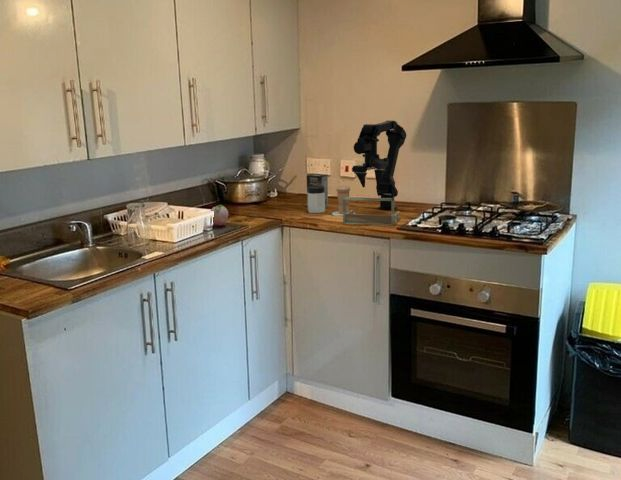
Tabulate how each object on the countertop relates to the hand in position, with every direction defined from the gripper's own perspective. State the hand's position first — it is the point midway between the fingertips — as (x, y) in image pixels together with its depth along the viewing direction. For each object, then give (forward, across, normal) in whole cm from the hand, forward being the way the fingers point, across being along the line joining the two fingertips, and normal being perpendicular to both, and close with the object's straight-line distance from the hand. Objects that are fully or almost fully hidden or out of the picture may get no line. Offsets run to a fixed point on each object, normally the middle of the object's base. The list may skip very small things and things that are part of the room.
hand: (370, 186), depth 294 cm
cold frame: (+13, -13, -14) cm, 23 cm away
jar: (+13, -14, +23) cm, 30 cm away
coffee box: (+13, -5, +33) cm, 36 cm away
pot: (+12, -10, +8) cm, 18 cm away
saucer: (+13, -10, +8) cm, 18 cm away
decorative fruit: (+13, -65, +28) cm, 72 cm away
